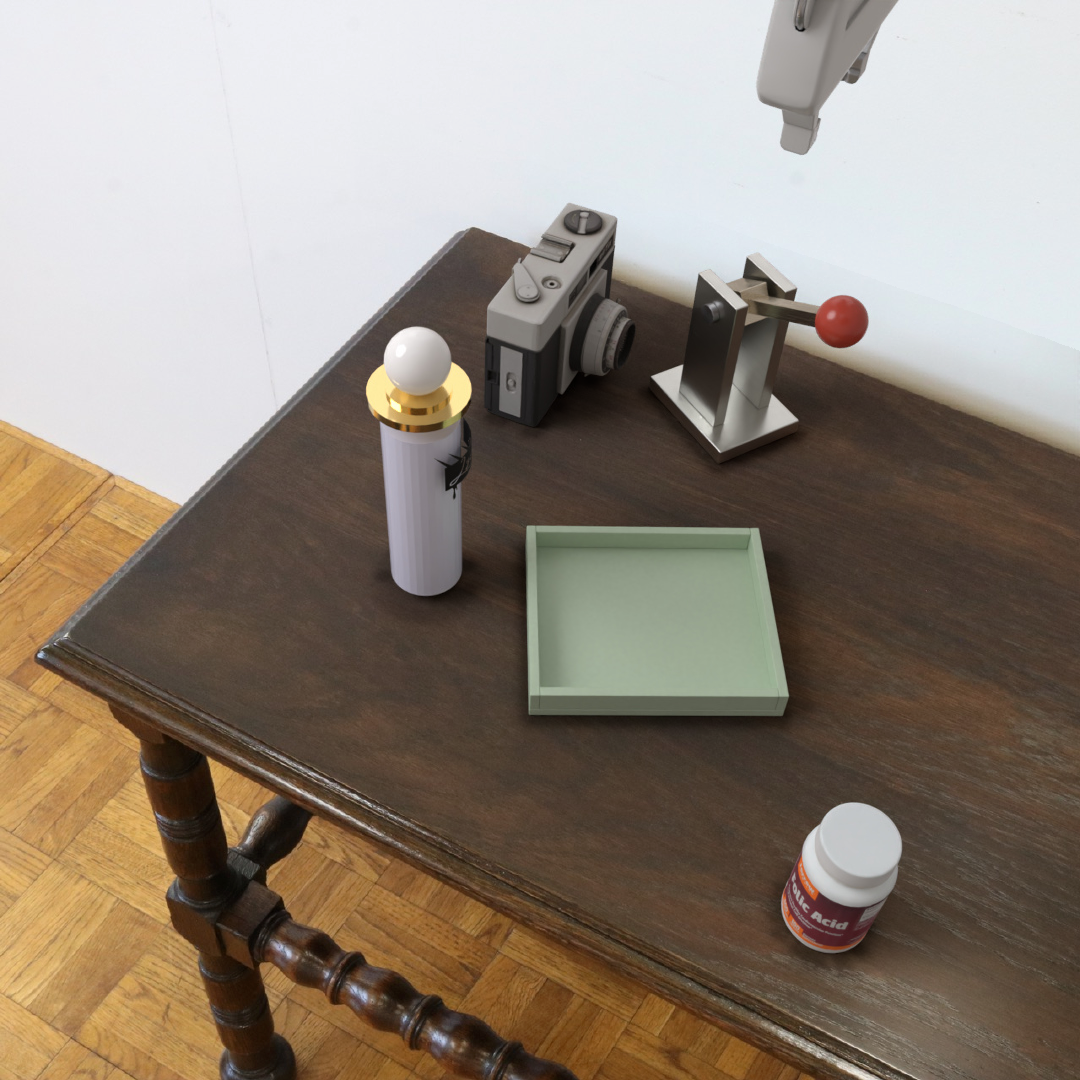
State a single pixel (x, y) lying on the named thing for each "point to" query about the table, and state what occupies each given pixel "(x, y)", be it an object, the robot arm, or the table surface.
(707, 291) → the bracket
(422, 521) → the perfume bottle
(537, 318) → the camera
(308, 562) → the table surface
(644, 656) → the tray
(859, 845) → the pill bottle
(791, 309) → the lever
